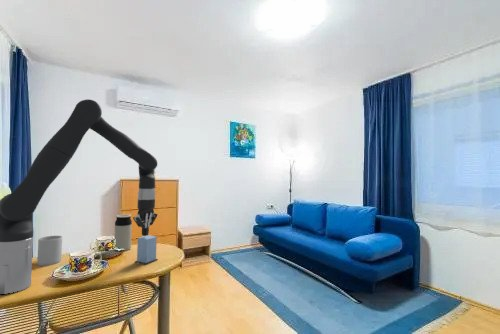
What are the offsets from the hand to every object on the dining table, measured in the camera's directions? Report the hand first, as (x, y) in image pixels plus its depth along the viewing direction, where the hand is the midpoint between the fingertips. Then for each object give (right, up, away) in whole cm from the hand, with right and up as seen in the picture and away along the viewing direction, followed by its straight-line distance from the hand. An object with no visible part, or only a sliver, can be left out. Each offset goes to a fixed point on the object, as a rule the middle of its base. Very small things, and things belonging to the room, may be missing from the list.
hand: (145, 235), depth 116 cm
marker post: (+1, -12, 0) cm, 12 cm away
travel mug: (-19, -12, +17) cm, 28 cm away
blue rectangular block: (+1, -12, 0) cm, 12 cm away
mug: (-42, -11, -3) cm, 44 cm away
